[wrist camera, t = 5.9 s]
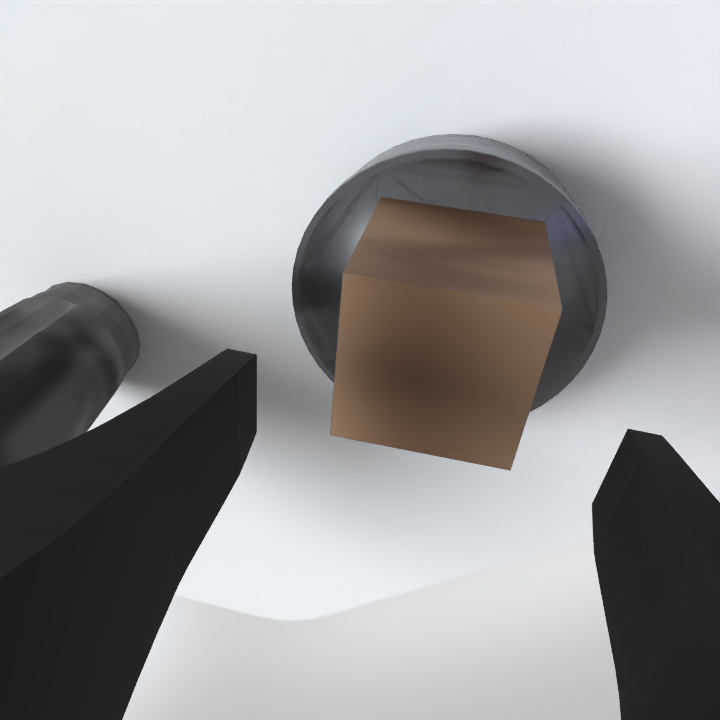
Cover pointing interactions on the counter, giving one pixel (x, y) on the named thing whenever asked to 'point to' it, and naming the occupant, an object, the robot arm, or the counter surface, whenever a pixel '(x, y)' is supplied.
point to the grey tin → (463, 191)
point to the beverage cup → (59, 366)
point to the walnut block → (444, 331)
